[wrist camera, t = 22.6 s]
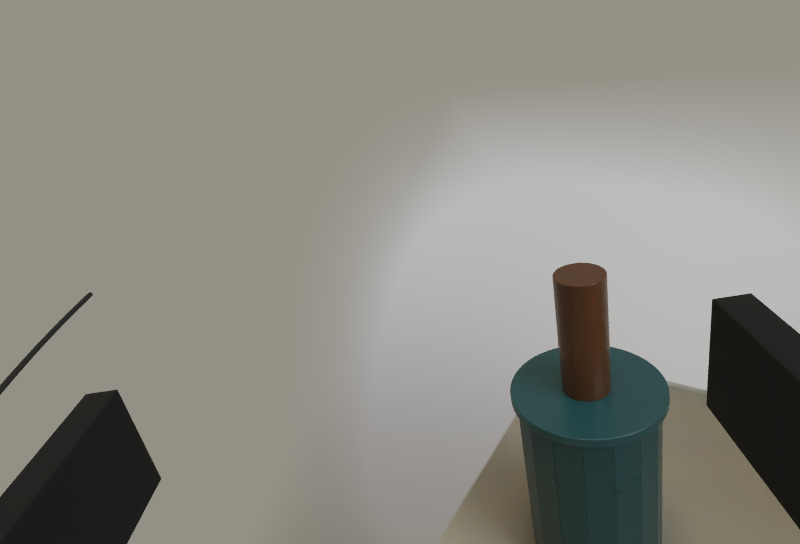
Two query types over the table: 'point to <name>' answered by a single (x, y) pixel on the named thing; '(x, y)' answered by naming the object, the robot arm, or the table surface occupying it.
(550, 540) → the teal pencil holder
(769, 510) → the table surface
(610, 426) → the lid
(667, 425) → the table surface
